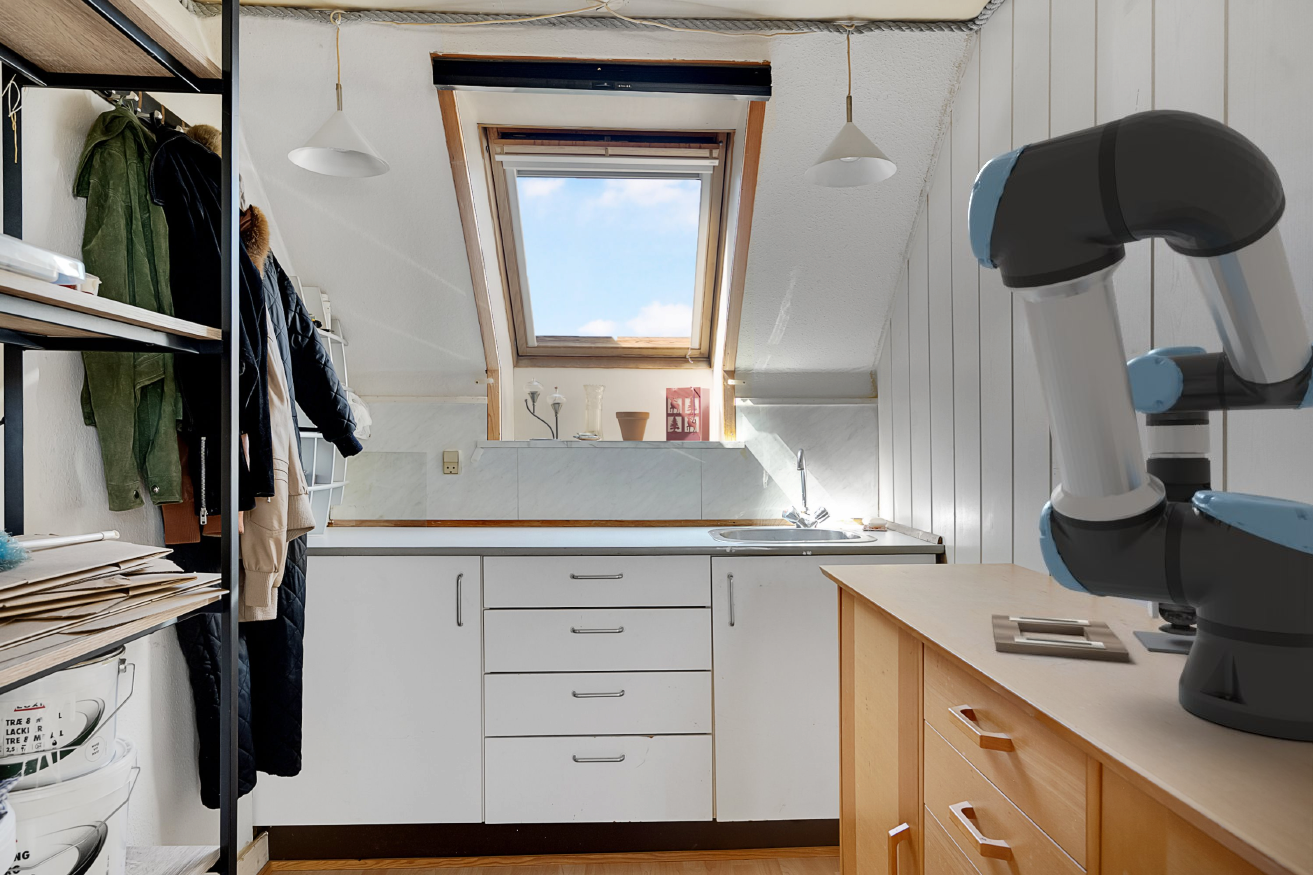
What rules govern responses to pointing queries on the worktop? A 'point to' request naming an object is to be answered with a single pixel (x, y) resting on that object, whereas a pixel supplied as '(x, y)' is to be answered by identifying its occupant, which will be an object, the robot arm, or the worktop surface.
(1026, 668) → the worktop surface
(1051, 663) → the worktop surface
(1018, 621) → the label board
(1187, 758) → the worktop surface
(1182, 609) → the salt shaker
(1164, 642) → the rubber mat
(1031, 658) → the worktop surface
